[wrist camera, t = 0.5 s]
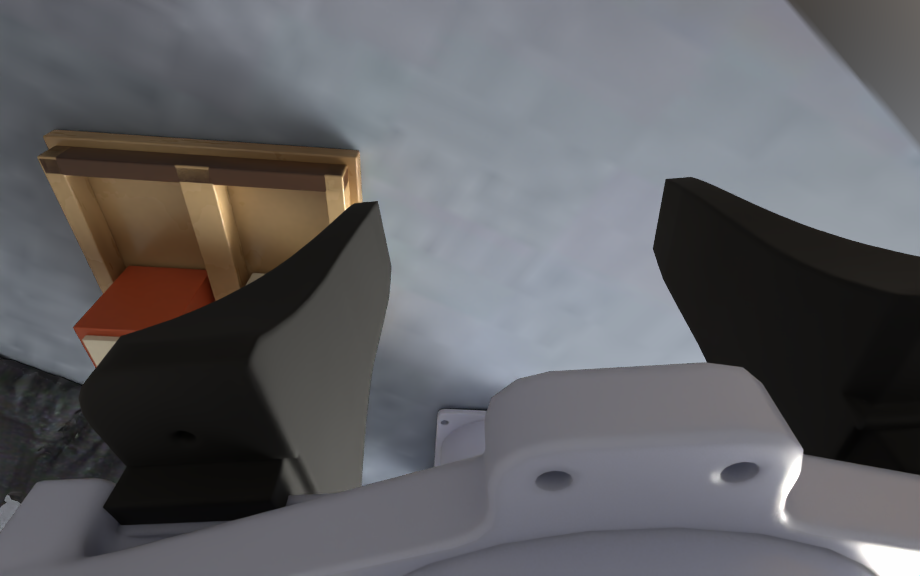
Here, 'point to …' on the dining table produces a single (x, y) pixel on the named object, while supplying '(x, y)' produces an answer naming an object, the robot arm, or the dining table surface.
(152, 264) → the divided wooden tray
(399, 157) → the dining table surface
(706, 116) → the dining table surface
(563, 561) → the robot arm
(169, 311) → the red block with panel
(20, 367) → the dark slate chunk
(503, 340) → the dining table surface
